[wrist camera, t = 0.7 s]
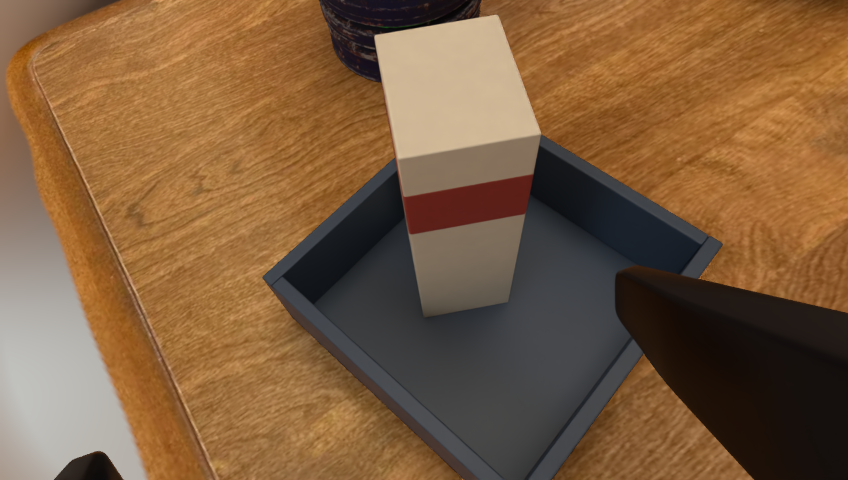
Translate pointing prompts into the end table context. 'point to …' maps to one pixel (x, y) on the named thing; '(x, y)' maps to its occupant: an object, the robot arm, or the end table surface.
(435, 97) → the plate
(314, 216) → the end table surface
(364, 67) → the dark blue cylinder
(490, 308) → the box
